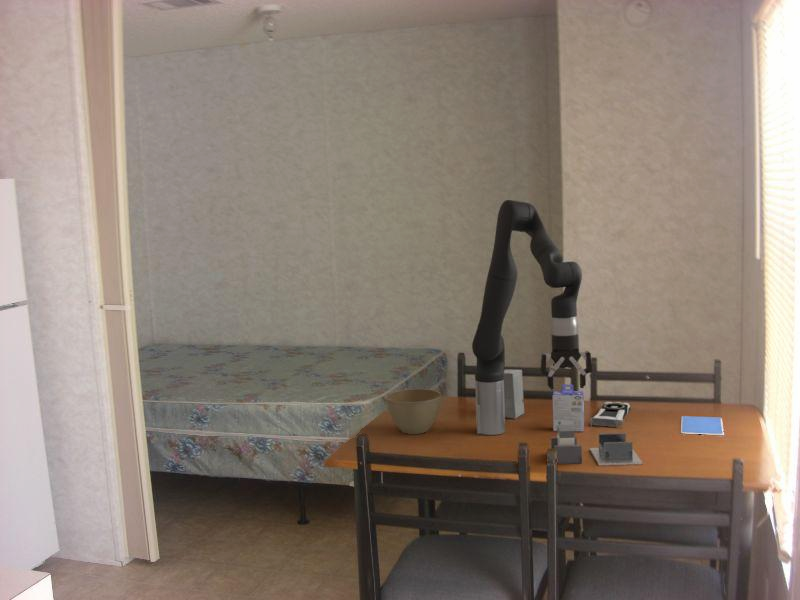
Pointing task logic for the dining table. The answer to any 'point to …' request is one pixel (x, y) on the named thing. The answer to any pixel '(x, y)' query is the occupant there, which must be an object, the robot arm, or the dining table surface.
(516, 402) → the skincare box
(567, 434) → the plug
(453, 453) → the dining table surface
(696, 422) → the tablet computer
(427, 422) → the flower pot
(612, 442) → the block
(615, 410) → the graphics card
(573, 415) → the ink cartridge box
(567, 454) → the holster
